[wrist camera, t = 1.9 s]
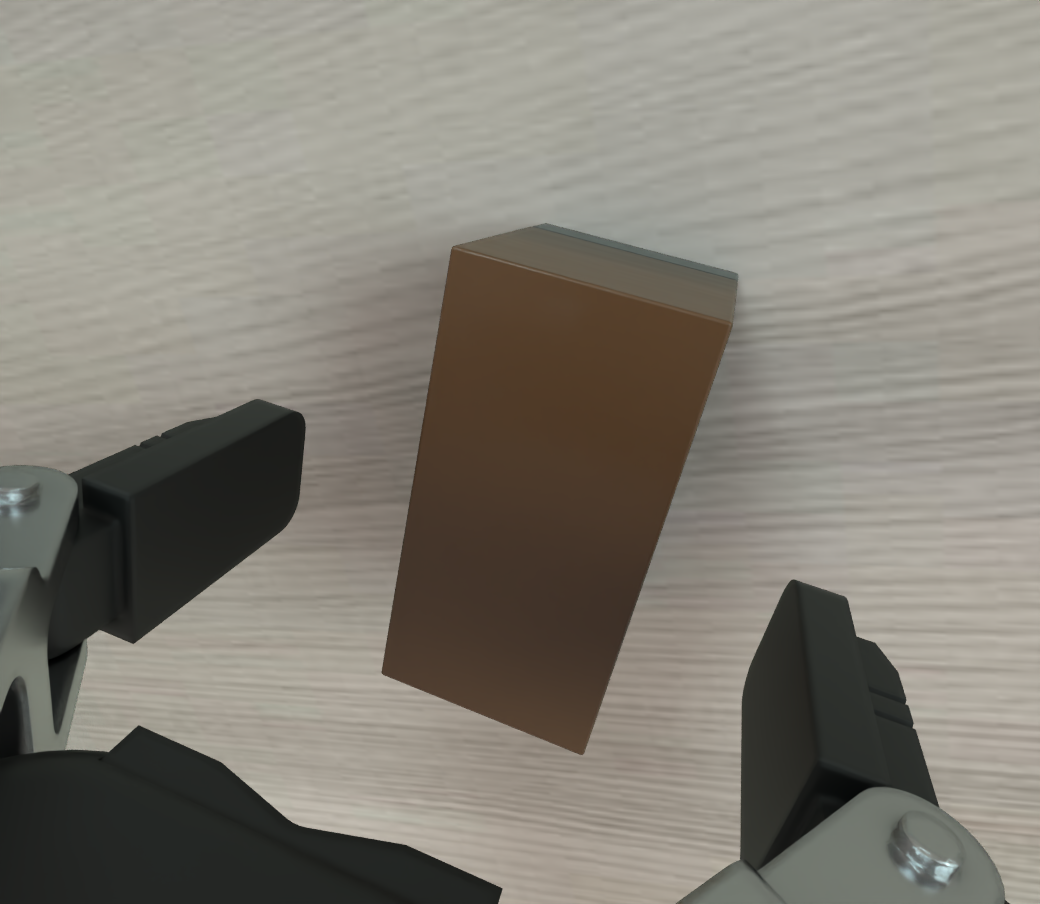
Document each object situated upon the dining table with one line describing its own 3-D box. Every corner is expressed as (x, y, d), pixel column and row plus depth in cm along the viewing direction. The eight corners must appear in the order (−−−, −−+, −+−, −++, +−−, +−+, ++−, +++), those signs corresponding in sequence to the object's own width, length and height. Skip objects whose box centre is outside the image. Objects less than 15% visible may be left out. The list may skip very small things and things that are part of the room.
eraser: (543, 222, 14) (450, 245, 10) (739, 273, 14) (733, 322, 9) (473, 548, 18) (380, 674, 13) (627, 603, 17) (582, 757, 12)
